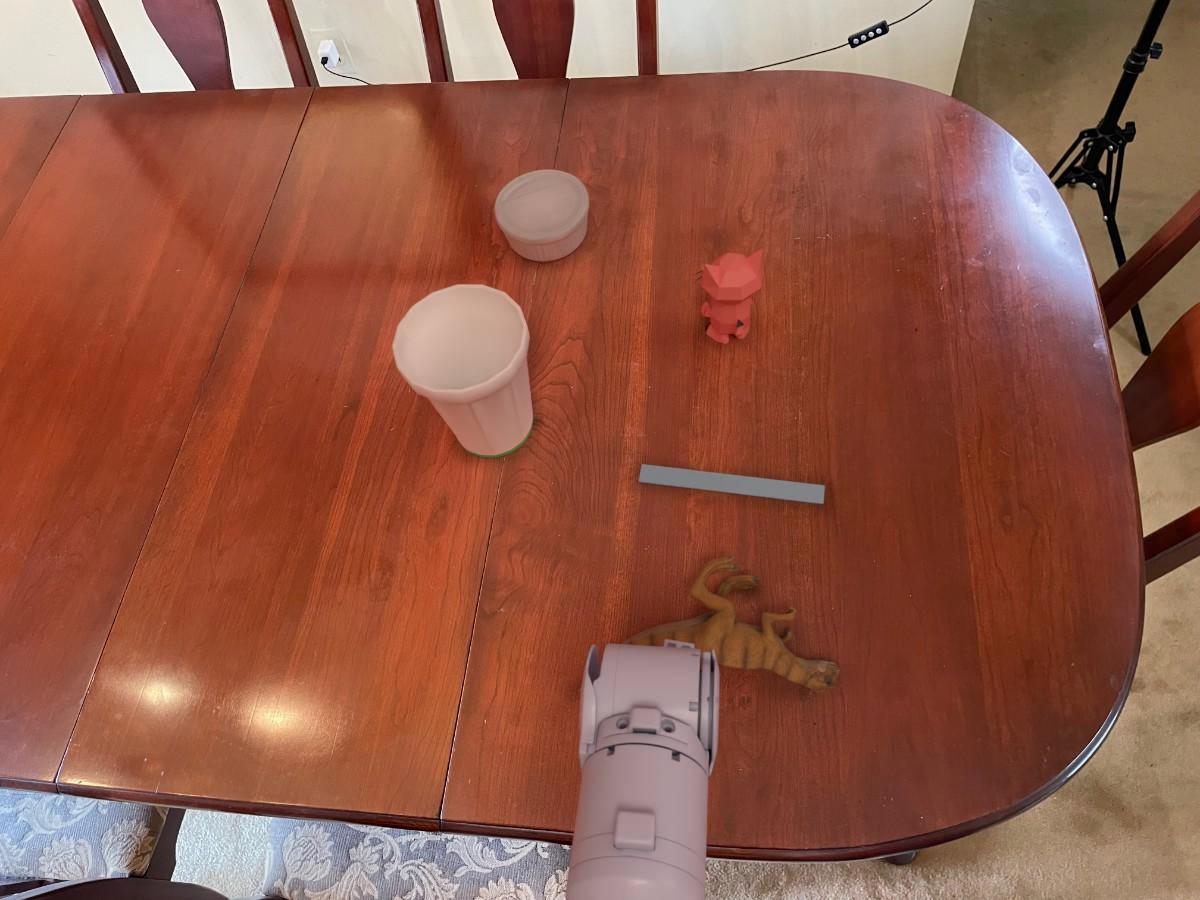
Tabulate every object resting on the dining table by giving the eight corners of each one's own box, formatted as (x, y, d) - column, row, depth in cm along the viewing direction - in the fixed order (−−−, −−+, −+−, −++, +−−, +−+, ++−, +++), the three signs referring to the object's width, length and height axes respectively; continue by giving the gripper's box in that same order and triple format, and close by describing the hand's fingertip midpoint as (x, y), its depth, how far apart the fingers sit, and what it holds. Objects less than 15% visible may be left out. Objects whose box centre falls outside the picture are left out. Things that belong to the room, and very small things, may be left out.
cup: (531, 486, 85) (500, 405, 72) (419, 462, 88) (369, 379, 75) (567, 386, 91) (545, 293, 78) (461, 366, 94) (422, 273, 81)
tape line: (823, 504, 81) (823, 503, 81) (638, 482, 84) (638, 481, 84) (824, 486, 82) (824, 485, 82) (641, 464, 85) (641, 463, 85)
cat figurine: (750, 300, 94) (756, 221, 84) (772, 347, 91) (781, 271, 80) (689, 316, 94) (688, 240, 84) (709, 364, 91) (710, 291, 80)
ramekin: (542, 188, 106) (535, 155, 102) (612, 224, 102) (608, 190, 97) (483, 245, 103) (473, 213, 98) (553, 284, 98) (546, 252, 94)
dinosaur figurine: (840, 595, 77) (836, 729, 71) (599, 567, 80) (577, 693, 75) (851, 569, 71) (848, 713, 65) (590, 540, 75) (566, 674, 69)
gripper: (615, 610, 53) (630, 666, 65) (565, 861, 47) (592, 873, 58) (727, 628, 52) (722, 682, 64) (693, 889, 45) (694, 896, 57)
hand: (667, 775), depth 61 cm, fingers open, 7 cm apart
